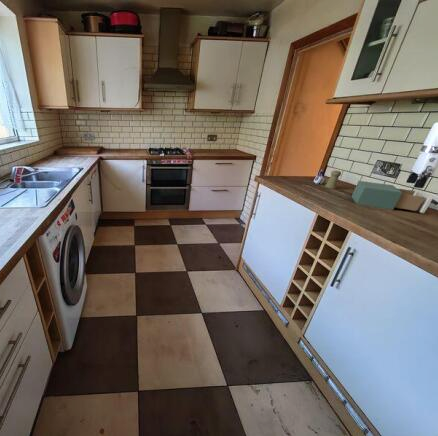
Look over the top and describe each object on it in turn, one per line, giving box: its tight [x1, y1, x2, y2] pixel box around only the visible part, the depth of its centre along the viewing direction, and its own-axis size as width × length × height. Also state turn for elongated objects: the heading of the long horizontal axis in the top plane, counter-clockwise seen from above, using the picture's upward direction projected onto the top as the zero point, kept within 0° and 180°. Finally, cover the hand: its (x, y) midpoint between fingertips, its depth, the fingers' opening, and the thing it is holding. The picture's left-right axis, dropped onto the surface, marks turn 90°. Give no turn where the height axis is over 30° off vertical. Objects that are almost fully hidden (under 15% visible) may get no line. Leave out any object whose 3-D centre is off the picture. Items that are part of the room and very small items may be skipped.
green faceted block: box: [351, 180, 402, 211], centre depth 123 cm, size 15×15×10 cm
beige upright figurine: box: [324, 169, 342, 190], centre depth 148 cm, size 6×6×11 cm
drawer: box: [394, 187, 438, 214], centre depth 117 cm, size 18×13×8 cm
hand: (414, 185), depth 114 cm, fingers open, 9 cm apart
